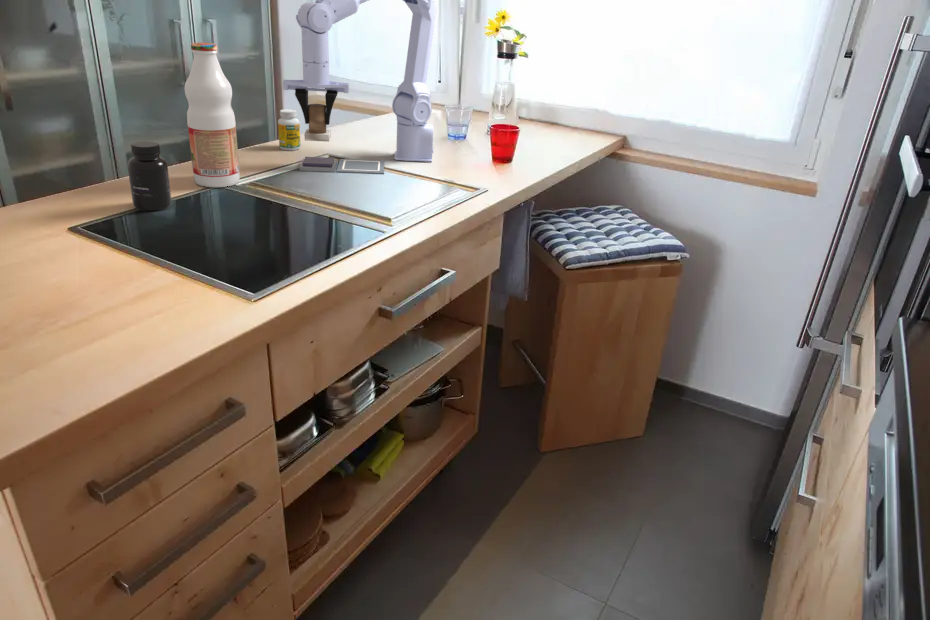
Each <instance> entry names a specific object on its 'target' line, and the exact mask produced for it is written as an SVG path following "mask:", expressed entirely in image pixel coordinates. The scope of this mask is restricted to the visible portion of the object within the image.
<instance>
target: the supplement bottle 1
mask: <svg viewBox="0 0 930 620" xmlns="http://www.w3.org/2000/svg"><path fill="white" fill-rule="evenodd" d="M130 148H131V155H132V157H131V158H129V159H128V162H127V171H128V178H129V180H128V181H129V185H130V192H131V199H132V205H133V207H134V208H135V209H137V211H141V212H142V211H143V212H159V211H164V210H166V209H169V208H170V207H171V206H172V193H171V186H170V175H169V167H168V162H167V161H166V159H165V158H164V157H162V156H160V155H161V150H160V144H159V143H158V142H156V141H150V140H149V141H148V140H147V141H146V140H145V141H144V140H141V141H140V140H139V141H135V142H132V143H131V144H130Z"/></svg>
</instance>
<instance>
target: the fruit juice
mask: <svg viewBox="0 0 930 620" xmlns="http://www.w3.org/2000/svg"><path fill="white" fill-rule="evenodd" d="M190 47H191V48H190V49H191V53H193V54H192V55H193V59H192V64H191V69H190V73H189V75H188V77H187V79H186V81H185V82H184V83H185V84H184V94H185V97H186V99H187V103H188V109H187V111H186V121H187V129H188V138H189V139H188V140H189V148H190V156H191V165H192V175H193V180H194V183H195V184H196V185H198V186H200V187H204V186H205V187H204V188H227V186H228V187H231V186H232V187H233V186H234V185H235V186H236V185H237V184H238V183H240V180H241V179H240V178H241V174H240V172H241V171H240V164H239V163H240V162H239V149H238V138H237V137H238V136H237V124H236V116H235V113H234V110H233V108H232V100H233V99H232V98H233V88H232V85H231V83H230V82H229V80H228V78H227V77H226V75H225V74H224V72H223V70H222V67H221V64H220V63H219V60H218V56H217V54H218V50H219V49H218V45H217V43H213V42H192V43H191V44H190Z"/></svg>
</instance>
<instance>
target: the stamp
mask: <svg viewBox="0 0 930 620" xmlns="http://www.w3.org/2000/svg"><path fill="white" fill-rule="evenodd" d="M308 118H309V124H308V128H306V130H305V132H304V141H309V142H328V143H329V142H330V140H331V137H332V136H331V135H332V133H331V131H332V130H331V129H327V125H326V104H324V103H323V104H322V103H308Z"/></svg>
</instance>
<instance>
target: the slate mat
mask: <svg viewBox="0 0 930 620" xmlns="http://www.w3.org/2000/svg"><path fill="white" fill-rule="evenodd" d="M337 165H338V166H337V167H336V168H337V169H336V172H337V173H343V174H344V173H349V174H372V175H375V174H376V175H384V174H385V160H371V159H370V160H369V159H353V158H352V159H349V158H348V159H347V158H340V159H339V162H338V164H337Z"/></svg>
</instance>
